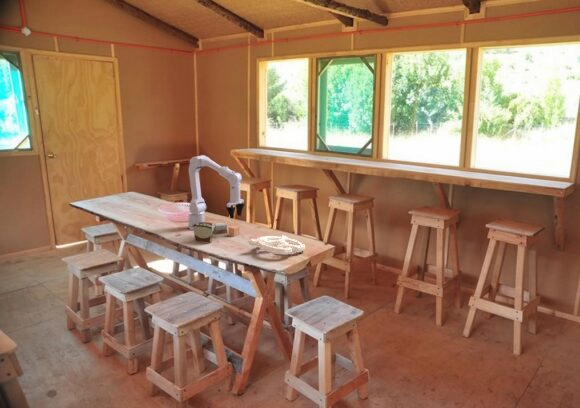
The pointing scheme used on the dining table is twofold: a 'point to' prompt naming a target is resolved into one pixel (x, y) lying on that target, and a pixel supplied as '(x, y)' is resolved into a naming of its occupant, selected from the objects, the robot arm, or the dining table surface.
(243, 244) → the dining table surface
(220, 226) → the top slab
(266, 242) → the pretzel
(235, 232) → the peach foam cube
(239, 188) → the robot arm
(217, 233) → the bottom slab
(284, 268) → the dining table surface
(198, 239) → the food container
